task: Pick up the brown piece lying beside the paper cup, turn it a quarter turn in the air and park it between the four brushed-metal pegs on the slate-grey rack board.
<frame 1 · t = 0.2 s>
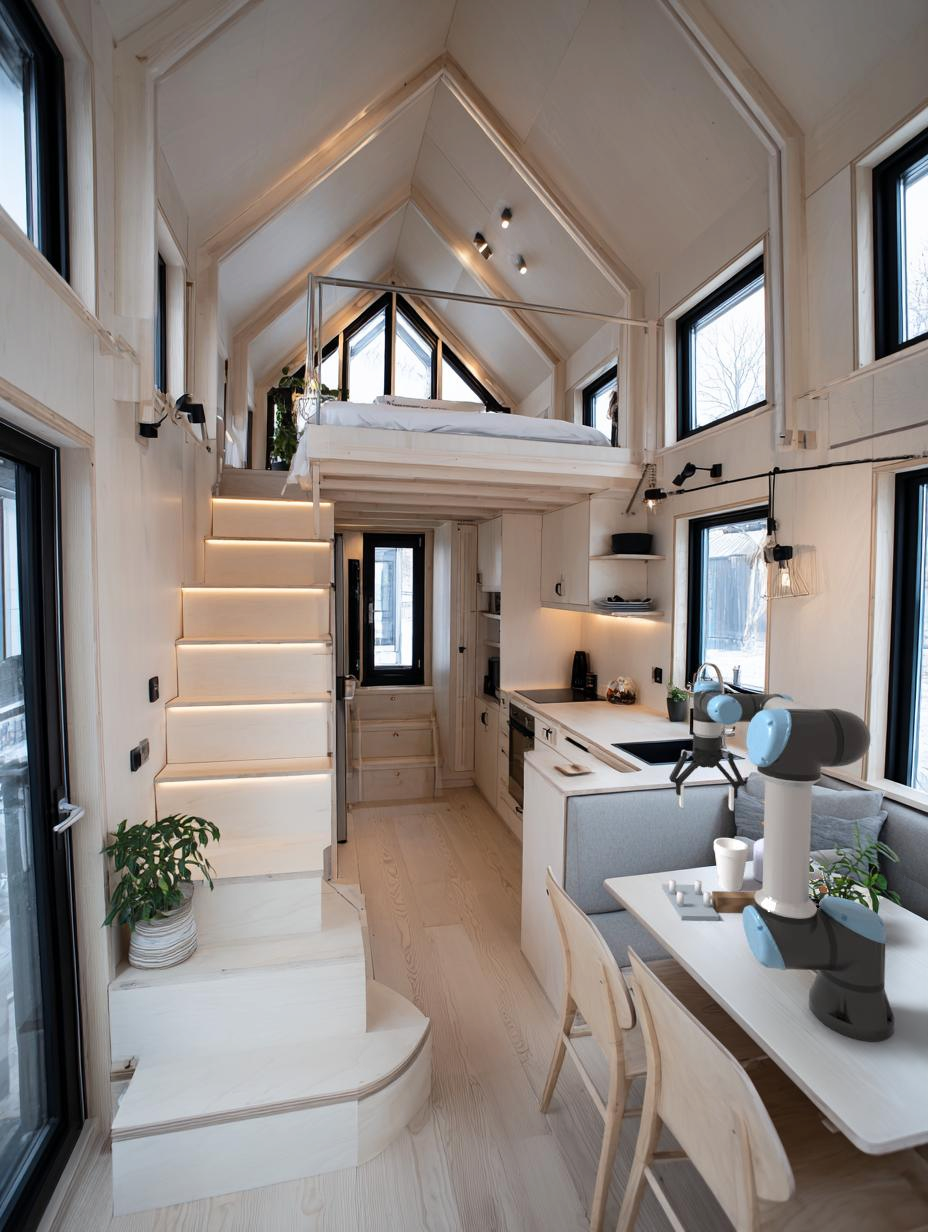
hand: (706, 807, 176), 27 cm above the table, fingers open, 13 cm apart
soap bottle: (769, 879, 189), on the table
brown piece: (743, 910, 171), on the table
foam cup: (730, 886, 185), on the table
rack: (689, 903, 174), on the table
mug: (830, 933, 159), on the table
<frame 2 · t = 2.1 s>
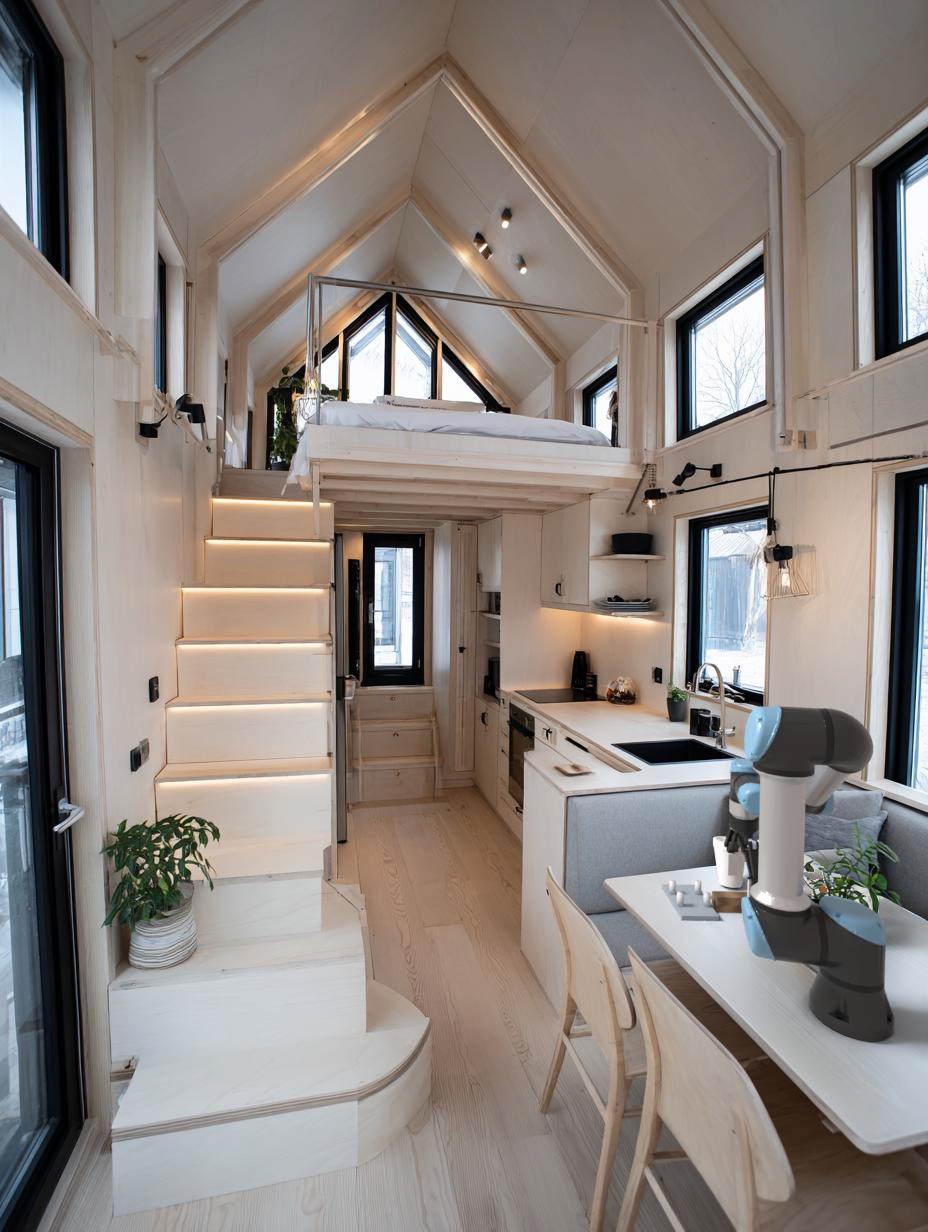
hand: (742, 887, 172), 6 cm above the table, fingers open, 13 cm apart
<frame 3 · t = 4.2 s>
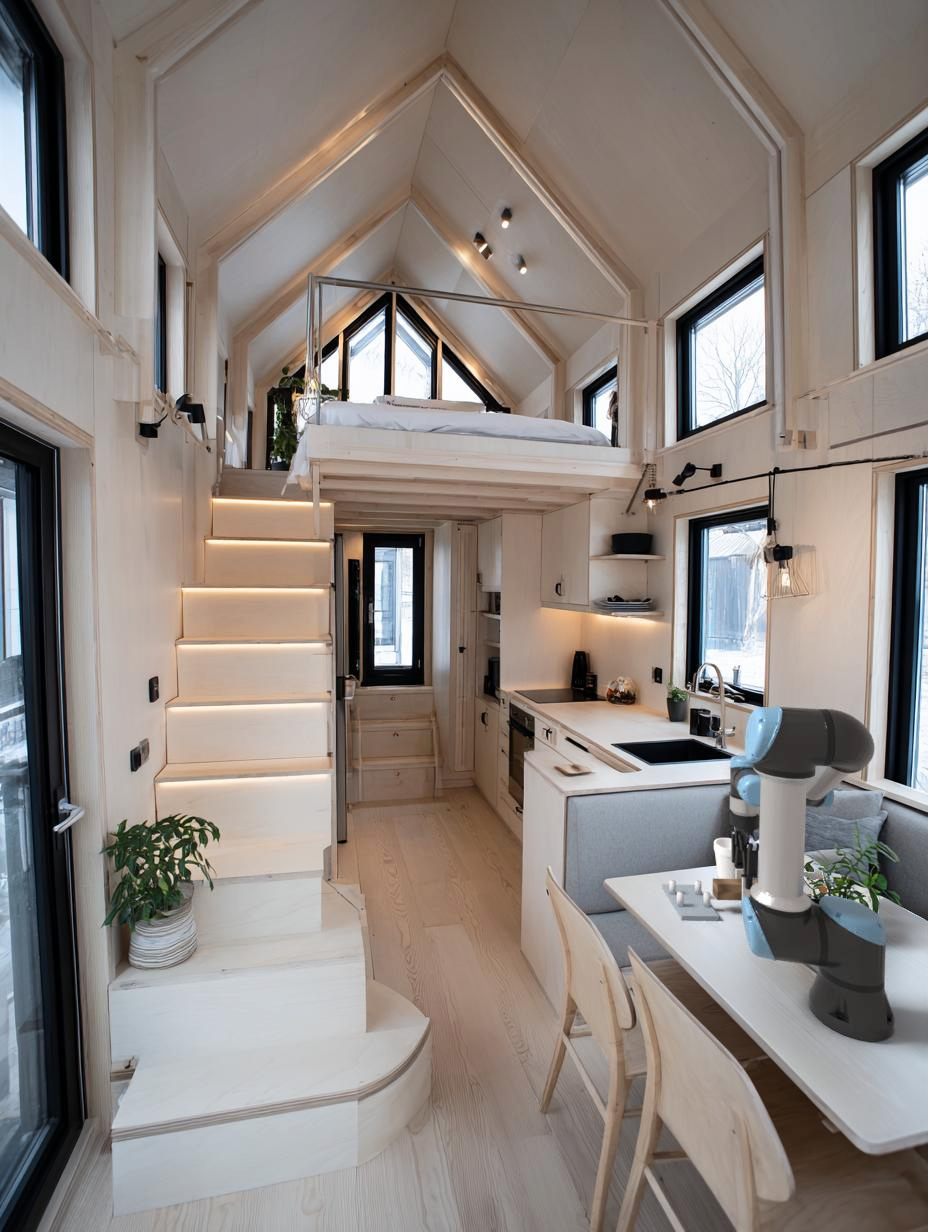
hand: (743, 895, 170), 4 cm above the table, fingers closed on brown piece, 4 cm apart
brown piece: (743, 897, 170), point 4 cm above the table, touching gripper
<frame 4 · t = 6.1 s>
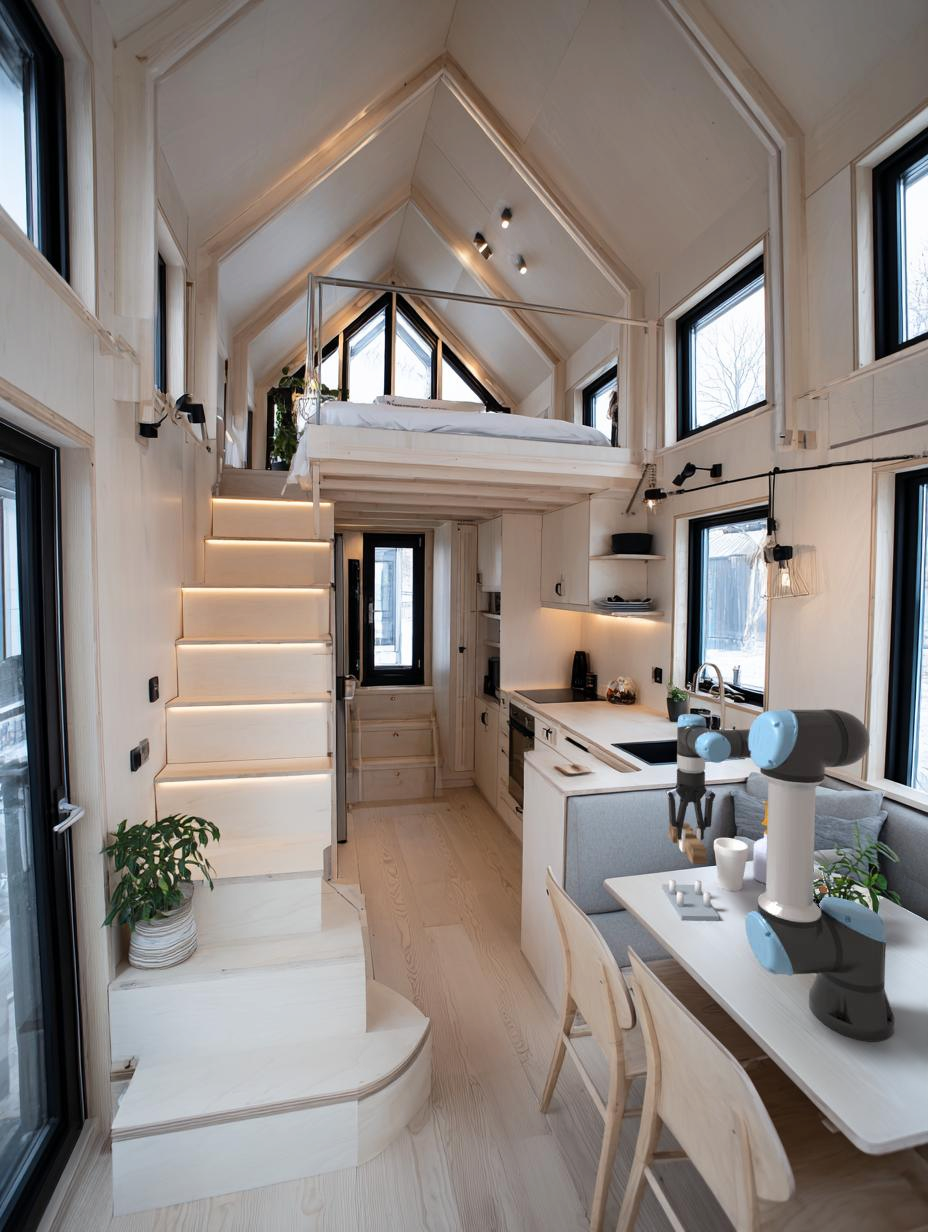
hand: (689, 850, 174), 15 cm above the table, fingers closed on brown piece, 4 cm apart
brown piece: (689, 851, 174), point 15 cm above the table, touching gripper
everything else where it was.
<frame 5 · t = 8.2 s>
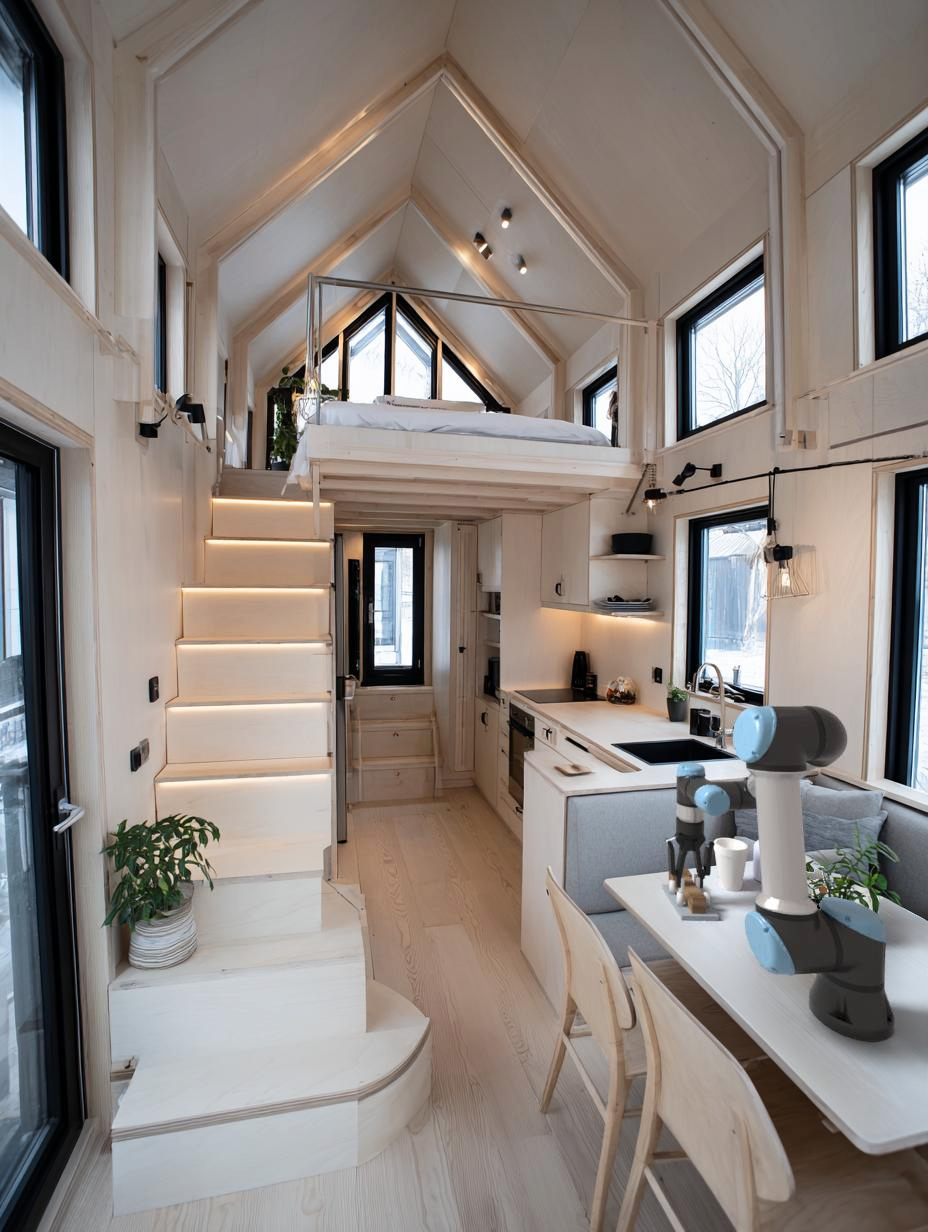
hand: (689, 898, 174), 1 cm above the table, fingers closed on rack, brown piece, 4 cm apart
brown piece: (689, 899, 174), point 1 cm above the table, touching gripper, rack
everything else where it was.
when the fingers open (2 cm above the table, at t = 9.7 s): brown piece stays where it is, resting on rack.
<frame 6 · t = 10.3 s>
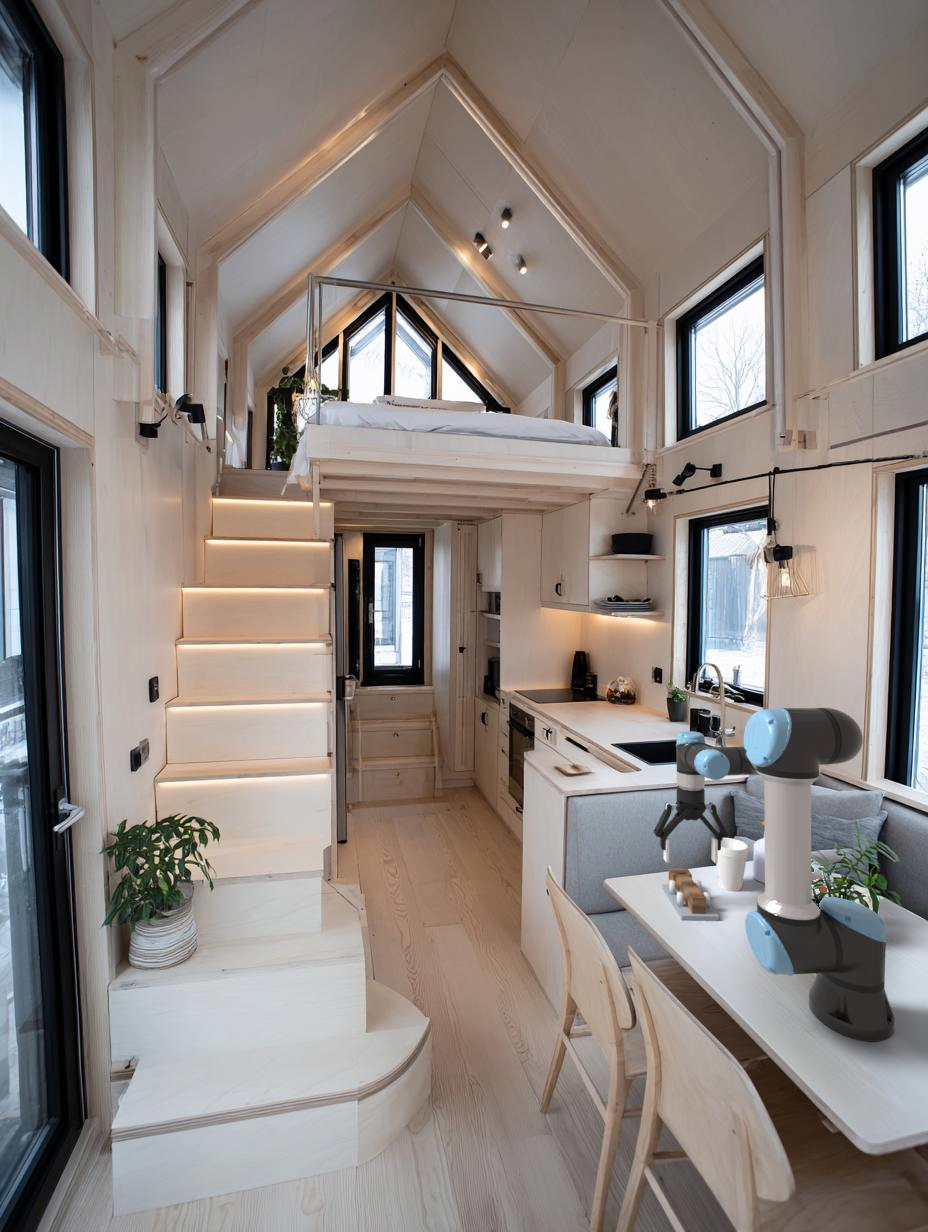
hand: (690, 861, 173), 13 cm above the table, fingers open, 13 cm apart
brown piece: (689, 899, 174), point 1 cm above the table, touching rack
everything else where it was.
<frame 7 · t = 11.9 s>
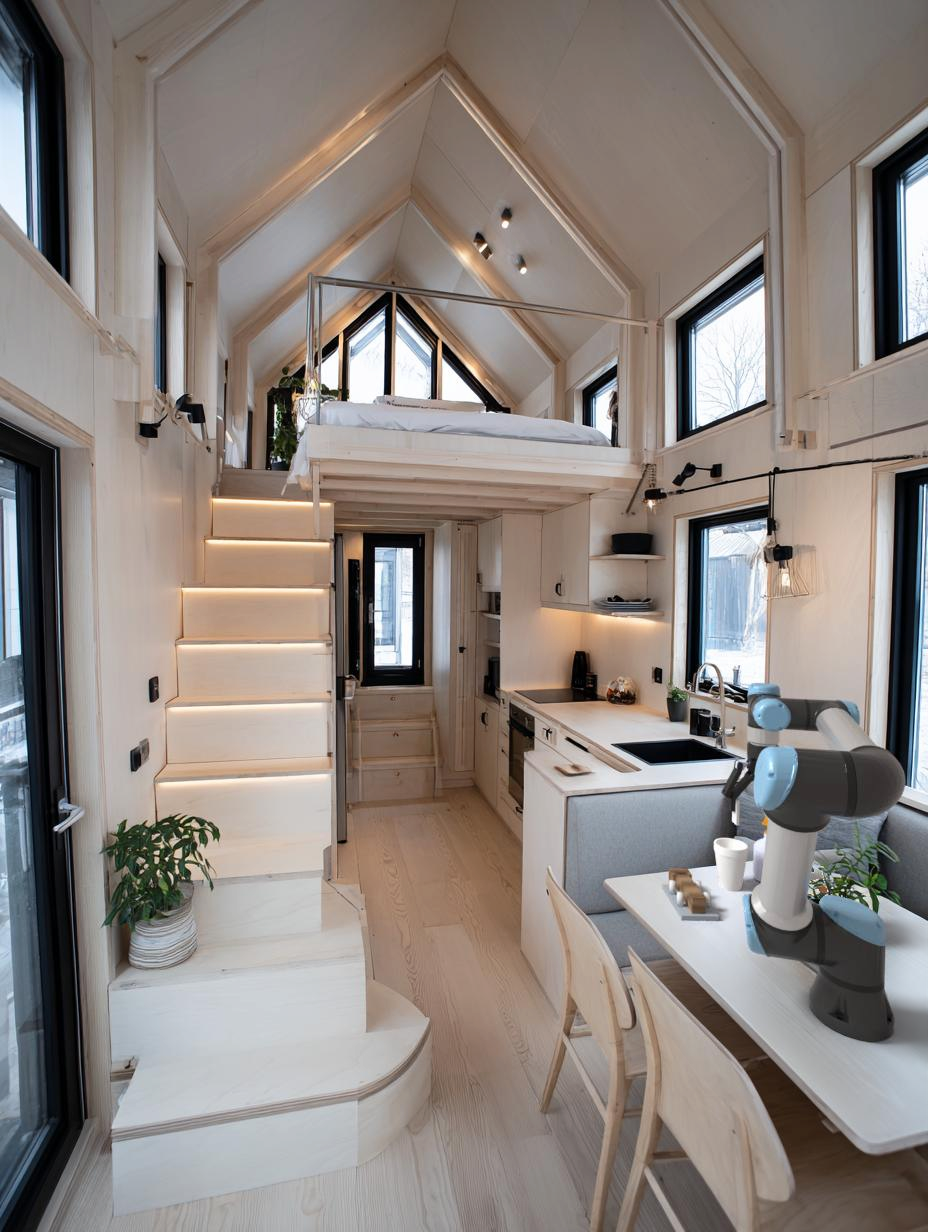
hand: (761, 823, 159), 29 cm above the table, fingers open, 13 cm apart
nothing on the table moved.
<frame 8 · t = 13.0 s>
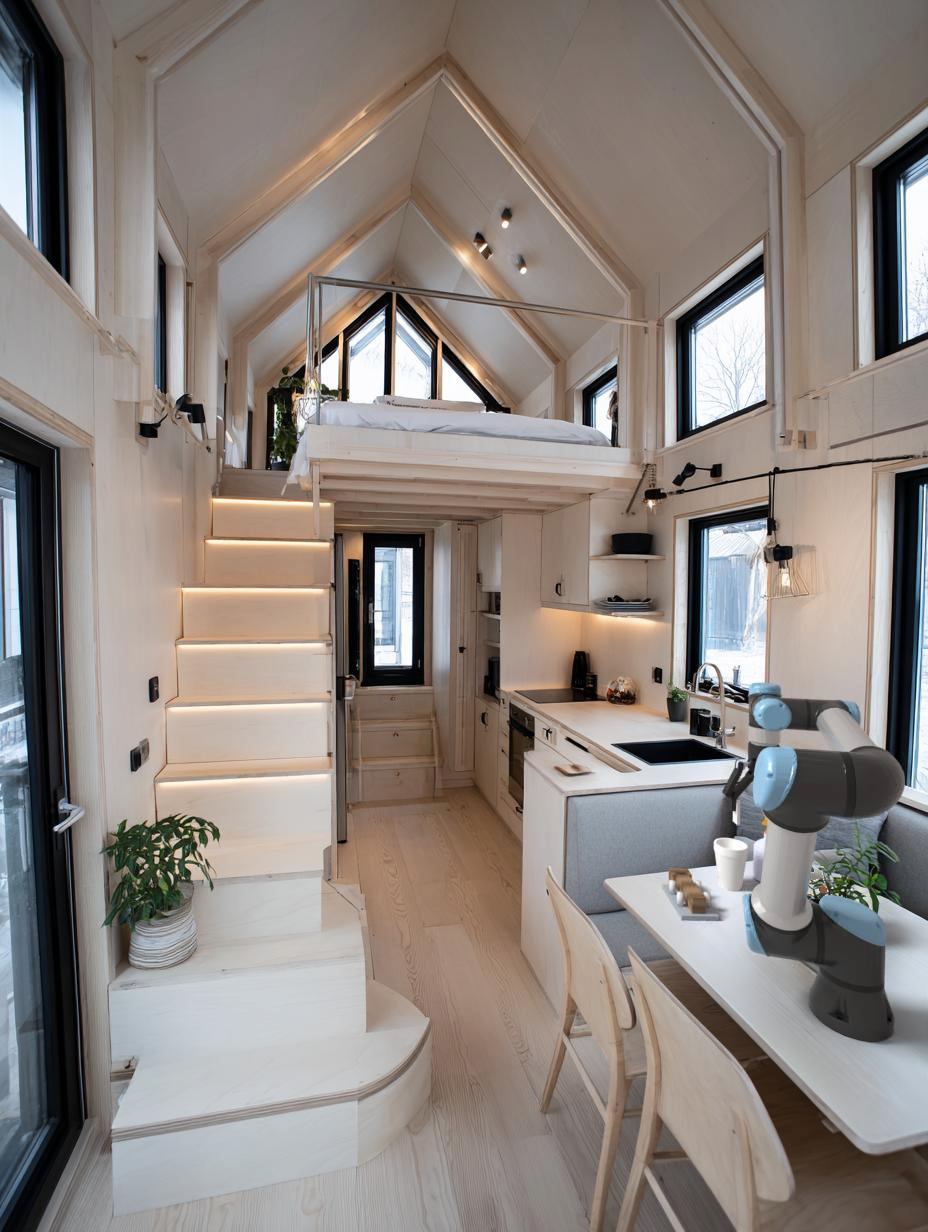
hand: (762, 823, 159), 29 cm above the table, fingers open, 13 cm apart
nothing on the table moved.
at the end: brown piece inside the target area on the rack (0.2 cm from its centre), point 1.2 cm above the rack's base; brown piece tilted 0°; the gripper is holding nothing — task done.
